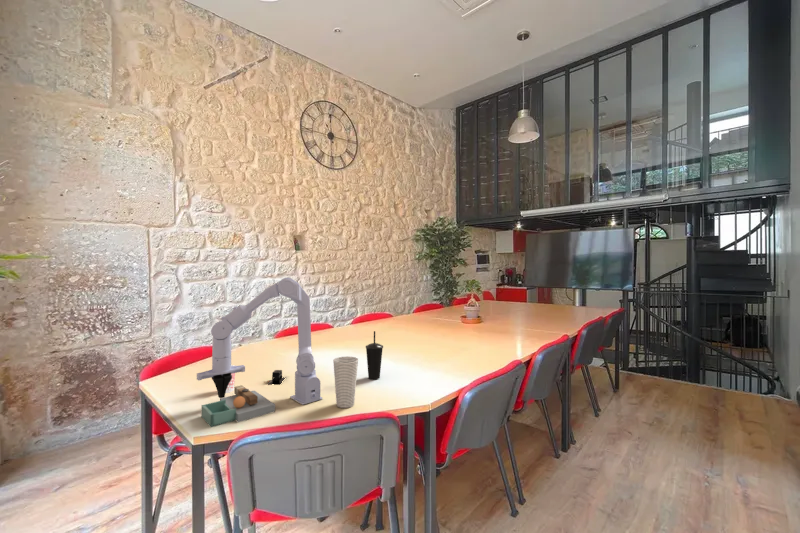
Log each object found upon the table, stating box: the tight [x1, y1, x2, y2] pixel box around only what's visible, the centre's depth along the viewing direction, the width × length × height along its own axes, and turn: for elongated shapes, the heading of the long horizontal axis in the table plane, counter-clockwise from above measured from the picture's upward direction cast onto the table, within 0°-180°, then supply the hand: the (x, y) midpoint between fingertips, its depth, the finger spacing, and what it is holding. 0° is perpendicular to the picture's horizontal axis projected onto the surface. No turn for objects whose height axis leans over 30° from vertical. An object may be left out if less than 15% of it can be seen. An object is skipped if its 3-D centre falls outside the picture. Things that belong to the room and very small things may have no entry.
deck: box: [219, 390, 276, 423], centre depth 114 cm, size 18×12×2 cm, turn 44°
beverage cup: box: [225, 364, 236, 394], centre depth 130 cm, size 6×6×14 cm
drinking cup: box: [365, 331, 384, 381], centre depth 147 cm, size 8×8×20 cm
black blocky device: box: [267, 369, 287, 386], centre depth 142 cm, size 12×7×5 cm, turn 4°
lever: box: [233, 384, 258, 405], centre depth 115 cm, size 14×2×3 cm, turn 44°
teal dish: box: [200, 400, 236, 428], centre depth 106 cm, size 10×7×4 cm
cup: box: [333, 356, 359, 409], centre depth 117 cm, size 8×8×16 cm
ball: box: [233, 396, 245, 408], centre depth 109 cm, size 4×4×4 cm
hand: (221, 397), depth 115 cm, fingers closed
